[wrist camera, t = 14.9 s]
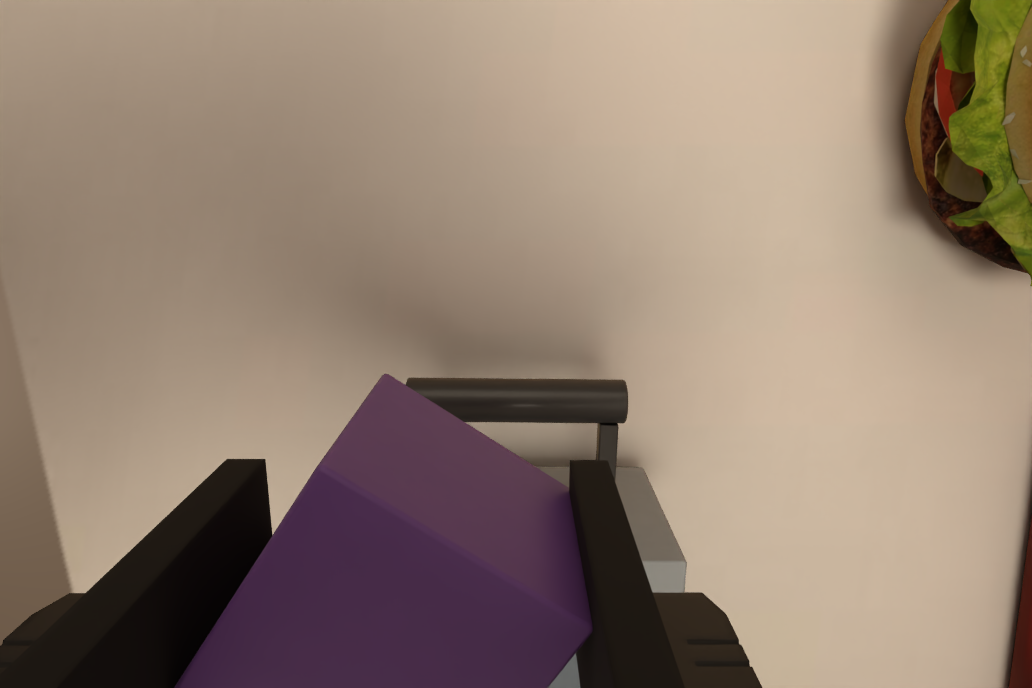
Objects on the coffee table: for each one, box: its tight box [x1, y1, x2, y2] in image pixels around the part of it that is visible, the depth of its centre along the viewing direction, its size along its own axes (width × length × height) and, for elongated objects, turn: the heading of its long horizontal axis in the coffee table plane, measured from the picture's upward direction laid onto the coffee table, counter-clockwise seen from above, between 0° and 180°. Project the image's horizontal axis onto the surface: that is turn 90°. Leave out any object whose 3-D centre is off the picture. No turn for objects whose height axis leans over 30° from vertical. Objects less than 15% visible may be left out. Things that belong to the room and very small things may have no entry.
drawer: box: [406, 378, 687, 688], centre depth 24 cm, size 17×10×7 cm, turn 179°
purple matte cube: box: [174, 374, 593, 688], centre depth 11 cm, size 4×4×4 cm
